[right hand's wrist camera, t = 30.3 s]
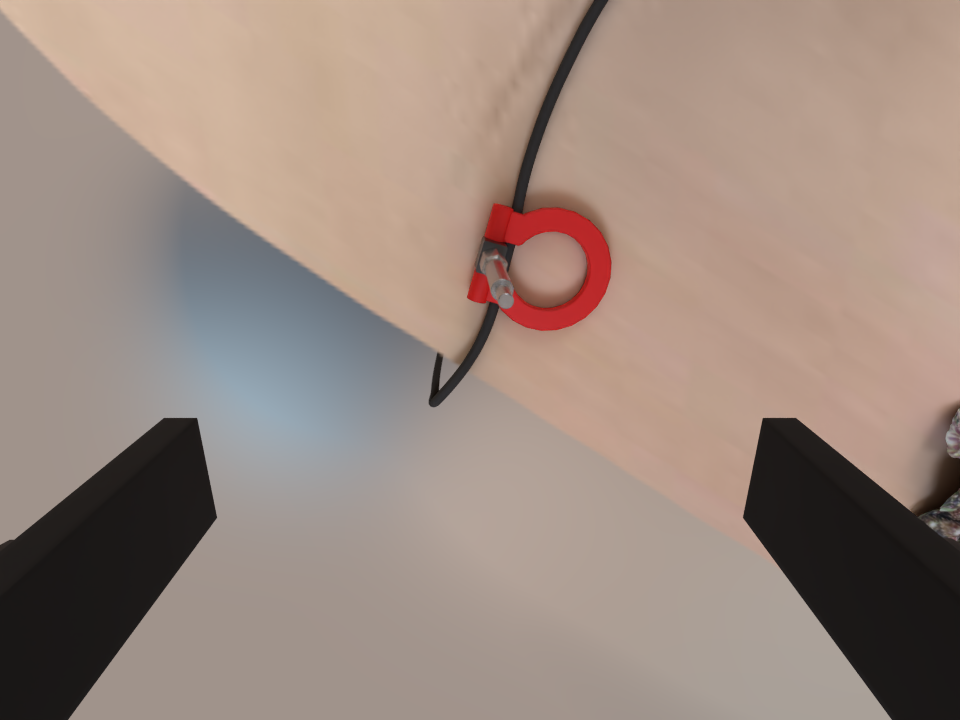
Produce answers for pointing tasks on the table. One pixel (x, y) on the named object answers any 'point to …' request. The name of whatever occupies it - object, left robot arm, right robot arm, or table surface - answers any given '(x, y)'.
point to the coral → (956, 513)
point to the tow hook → (516, 230)
